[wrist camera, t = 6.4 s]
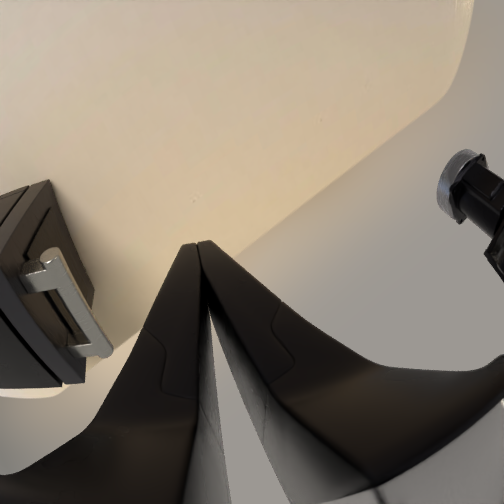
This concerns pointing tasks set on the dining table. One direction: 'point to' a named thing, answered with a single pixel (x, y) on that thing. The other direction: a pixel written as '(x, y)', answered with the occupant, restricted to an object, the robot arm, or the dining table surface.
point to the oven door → (48, 286)
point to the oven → (19, 336)
